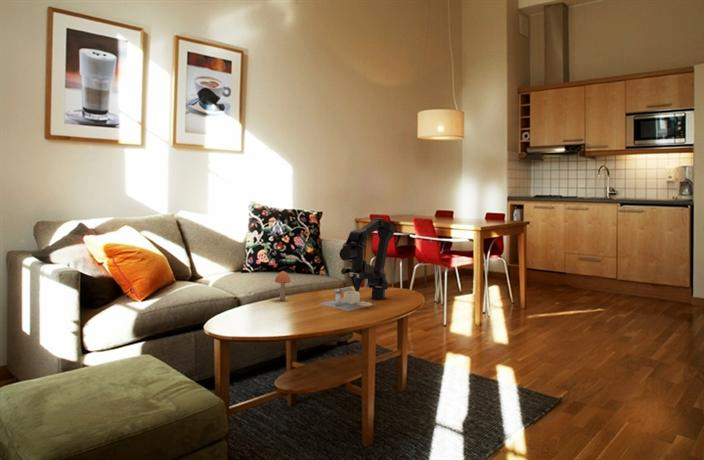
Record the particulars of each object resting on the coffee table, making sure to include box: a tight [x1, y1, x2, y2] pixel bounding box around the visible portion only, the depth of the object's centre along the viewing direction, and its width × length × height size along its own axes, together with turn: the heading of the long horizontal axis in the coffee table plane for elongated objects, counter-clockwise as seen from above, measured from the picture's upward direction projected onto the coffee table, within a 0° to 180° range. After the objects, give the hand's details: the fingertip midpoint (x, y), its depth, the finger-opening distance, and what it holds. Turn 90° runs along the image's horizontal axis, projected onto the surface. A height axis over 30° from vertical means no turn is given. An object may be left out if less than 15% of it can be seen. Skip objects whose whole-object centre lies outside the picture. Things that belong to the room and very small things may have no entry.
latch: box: [333, 285, 356, 294], centre depth 240 cm, size 12×4×1 cm, turn 135°
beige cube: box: [343, 290, 361, 304], centre depth 244 cm, size 5×5×5 cm
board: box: [318, 292, 376, 312], centre depth 240 cm, size 19×20×7 cm
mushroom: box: [274, 270, 292, 302], centre depth 252 cm, size 8×8×15 cm
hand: (357, 291), depth 238 cm, fingers closed
